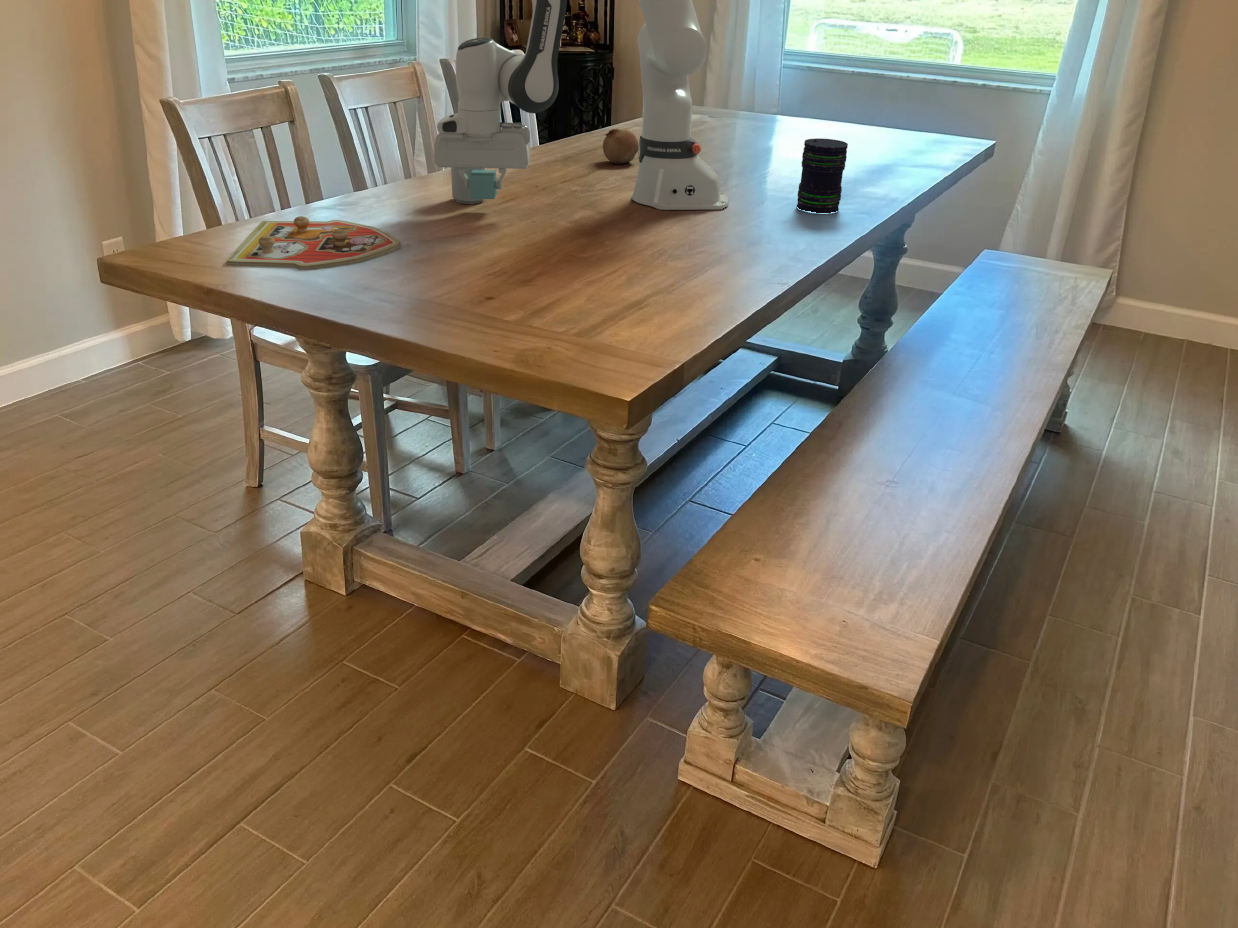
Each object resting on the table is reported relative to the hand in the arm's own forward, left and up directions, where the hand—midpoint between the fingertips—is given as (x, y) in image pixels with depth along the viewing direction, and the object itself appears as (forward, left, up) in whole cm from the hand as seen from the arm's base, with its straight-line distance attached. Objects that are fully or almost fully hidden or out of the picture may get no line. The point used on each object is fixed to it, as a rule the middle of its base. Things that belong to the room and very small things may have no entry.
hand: (483, 188), depth 216 cm
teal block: (0, 0, -2) cm, 2 cm away
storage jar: (-75, -15, -5) cm, 77 cm away
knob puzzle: (+27, +30, -6) cm, 41 cm away
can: (+5, -9, -5) cm, 11 cm away
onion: (-28, -55, -5) cm, 62 cm away
